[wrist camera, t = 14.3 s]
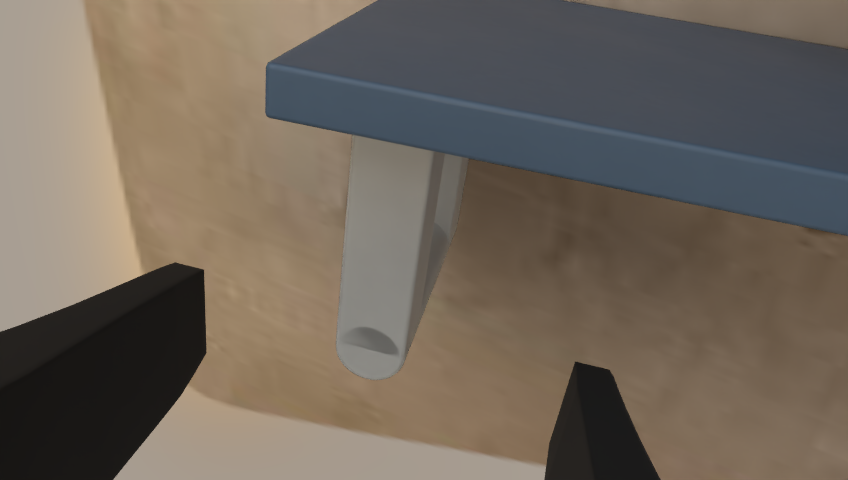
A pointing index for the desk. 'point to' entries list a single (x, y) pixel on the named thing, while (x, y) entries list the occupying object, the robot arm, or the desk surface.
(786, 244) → the desk surface
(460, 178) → the cabinet door
